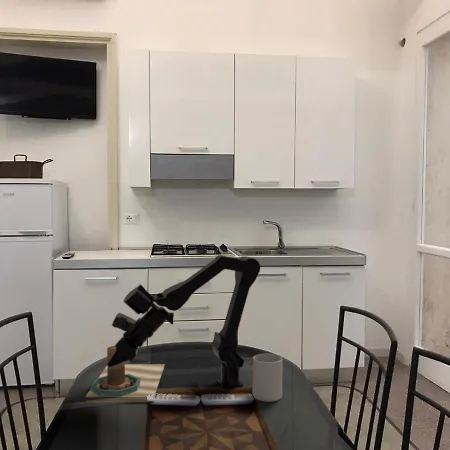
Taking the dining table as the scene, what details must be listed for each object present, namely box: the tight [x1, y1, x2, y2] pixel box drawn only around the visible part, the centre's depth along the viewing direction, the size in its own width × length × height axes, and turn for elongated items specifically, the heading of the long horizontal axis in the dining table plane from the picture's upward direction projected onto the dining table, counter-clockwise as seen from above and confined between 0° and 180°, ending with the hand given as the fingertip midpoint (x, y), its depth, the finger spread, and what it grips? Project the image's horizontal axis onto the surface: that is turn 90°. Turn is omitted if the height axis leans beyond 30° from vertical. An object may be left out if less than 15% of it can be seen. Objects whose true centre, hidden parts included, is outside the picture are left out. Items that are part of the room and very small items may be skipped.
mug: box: [251, 353, 283, 403], centre depth 135 cm, size 12×8×11 cm
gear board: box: [84, 363, 166, 403], centre depth 142 cm, size 27×19×3 cm
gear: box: [99, 345, 133, 390], centre depth 136 cm, size 10×10×12 cm
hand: (111, 361), depth 135 cm, fingers open, 7 cm apart
